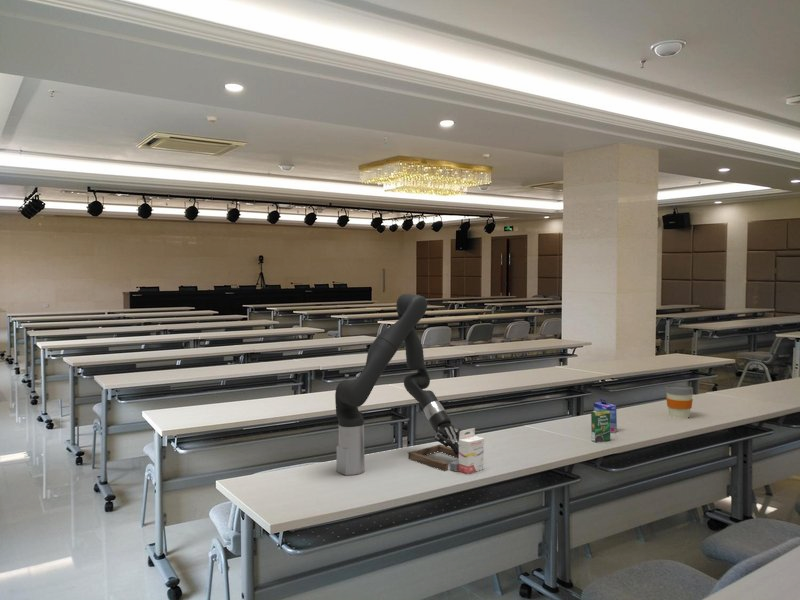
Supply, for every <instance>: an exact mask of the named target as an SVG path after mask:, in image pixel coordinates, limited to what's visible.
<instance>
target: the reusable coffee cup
mask: <svg viewBox="0 0 800 600" xmlns="http://www.w3.org/2000/svg"><path fill="white" fill-rule="evenodd" d="M665 393H666V398H665V400H666V406H667V408H668V415H670V416H671V417H676V418H688V417H689V418H690V414H691V409H692V408H693V407H692V406H693V395H694V388H693V387H692V386H688V385H680V384H670V385H666V386H665ZM670 416H669V417H670ZM671 417H670V418H671ZM676 418H675V419H676ZM689 418H688V419H689Z"/></svg>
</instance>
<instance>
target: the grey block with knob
mask: <svg viewBox="0 0 800 600" xmlns="http://www.w3.org/2000/svg"><path fill="white" fill-rule="evenodd" d="M449 470H452V471H454V472H459V459H457V460H454V461H451V462H450V463H449Z"/></svg>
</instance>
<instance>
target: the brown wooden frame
mask: <svg viewBox="0 0 800 600" xmlns="http://www.w3.org/2000/svg"><path fill="white" fill-rule="evenodd" d="M437 451H439V452H437ZM434 452H437V453H440V452H443V453H446V454H448V455H447V456H449V455H451V457H453V456H454V457H453V458H456V457H457V458H456V459H459V455H456V454H455V453H454V452H453V450H452V448H451V447H449V446H447V447H446V446H444V445H443V444H437V445H432V446H428V447H424V448H420V449H417V450H413V451H412V450H411V451H408V453H407V454H408V455H407V456H408V457H407V458H408V460H411V461H414V462H416V461H417V462H416V463H419V462H420V464H422V463H423V465H425V464H426V466H428V465H429V467H431V466H432V467H431V468H434V467H435V468H434V469H437V468H438V470H440V469H441V470H440V471H443V470H444V472H445V470H446V471H448V470H449V463H448V462H446V461H444V460H440V459H436V458H434V457H431V456H429V455H431V454H430V453H433V454H435V453H434ZM443 453H442V454H443ZM427 454H429V455H427ZM446 454H445V455H446ZM425 455H426V456H425Z"/></svg>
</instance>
